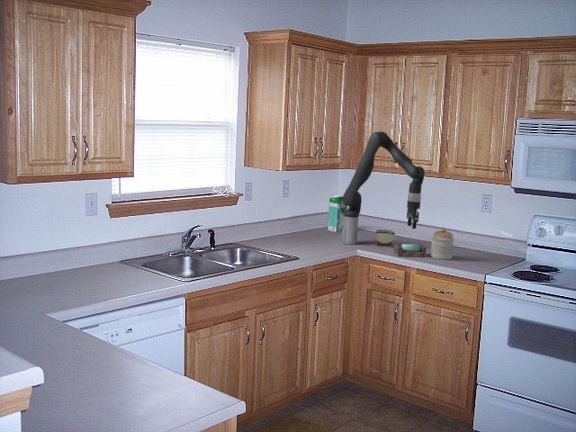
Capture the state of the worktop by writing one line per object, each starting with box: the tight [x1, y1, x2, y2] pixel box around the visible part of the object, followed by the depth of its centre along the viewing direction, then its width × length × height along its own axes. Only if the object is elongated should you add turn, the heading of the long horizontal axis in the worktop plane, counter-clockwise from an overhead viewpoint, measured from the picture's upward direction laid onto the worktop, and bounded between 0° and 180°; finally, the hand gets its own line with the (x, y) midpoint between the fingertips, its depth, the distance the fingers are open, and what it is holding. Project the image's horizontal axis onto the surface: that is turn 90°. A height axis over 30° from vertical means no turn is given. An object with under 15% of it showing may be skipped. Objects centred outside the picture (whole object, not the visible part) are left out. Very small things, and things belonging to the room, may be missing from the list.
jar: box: [430, 227, 455, 261], centre depth 394 cm, size 13×13×18 cm
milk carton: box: [327, 195, 348, 233], centre depth 464 cm, size 9×9×25 cm
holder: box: [392, 243, 427, 258], centre depth 397 cm, size 17×9×6 cm, turn 98°
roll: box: [400, 243, 421, 252], centre depth 397 cm, size 10×5×5 cm
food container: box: [374, 229, 396, 248], centre depth 421 cm, size 12×6×10 cm, turn 84°
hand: (411, 227), depth 395 cm, fingers open, 8 cm apart
